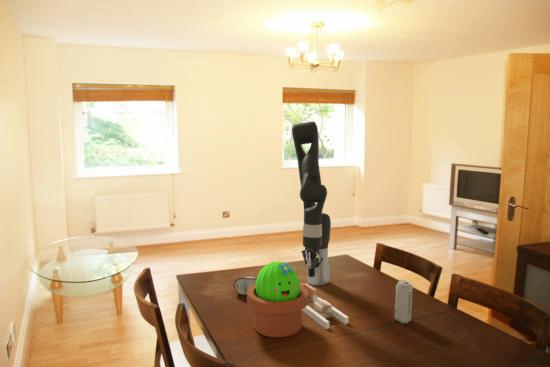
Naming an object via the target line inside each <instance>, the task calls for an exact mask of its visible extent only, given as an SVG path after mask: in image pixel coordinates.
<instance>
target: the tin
mask: <svg viewBox="0 0 550 367" xmlns="http://www.w3.org/2000/svg"><path fill="white" fill-rule="evenodd" d="M257 277H258V275H247V274H243V275H239V276H237V277H236V278H235V280H234V282H233V289H234V291H235V292H236V293H237V294H239V295H241V296H247V290H248V288H249V287H251V286H252V285H254V284H256V281H255V280H257Z"/></svg>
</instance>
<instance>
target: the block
mask: <svg viewBox="0 0 550 367" xmlns="http://www.w3.org/2000/svg"><path fill="white" fill-rule="evenodd" d="M322 300H323V301H318V302H313V310H314V311H316V312H317V313H318V314H320V315H321V316H322V317H324V318H325V319H328V318H332V316H333V315H332V306H333V305H332V304H331V303H330V302H328V301H327V300H326V299H322Z"/></svg>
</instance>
